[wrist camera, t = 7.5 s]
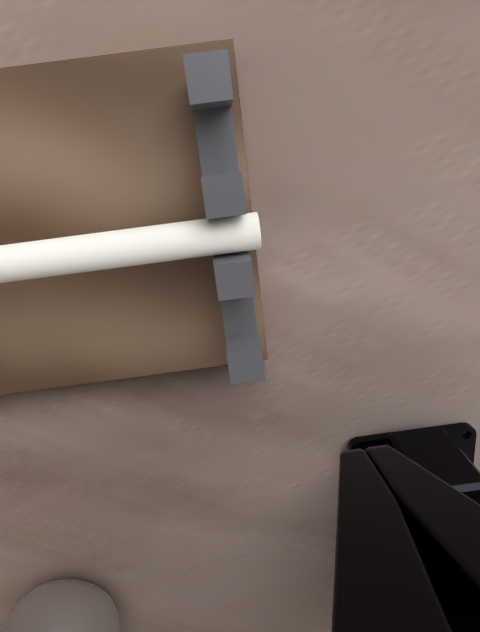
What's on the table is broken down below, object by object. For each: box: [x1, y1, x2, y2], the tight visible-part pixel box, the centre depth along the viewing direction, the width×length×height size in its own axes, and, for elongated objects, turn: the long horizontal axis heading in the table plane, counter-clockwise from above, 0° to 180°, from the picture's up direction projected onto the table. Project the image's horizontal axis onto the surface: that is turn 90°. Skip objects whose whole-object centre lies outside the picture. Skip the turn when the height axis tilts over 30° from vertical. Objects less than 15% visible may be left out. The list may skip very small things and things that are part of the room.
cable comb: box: [182, 49, 265, 385], centre depth 14 cm, size 10×1×4 cm, turn 7°
